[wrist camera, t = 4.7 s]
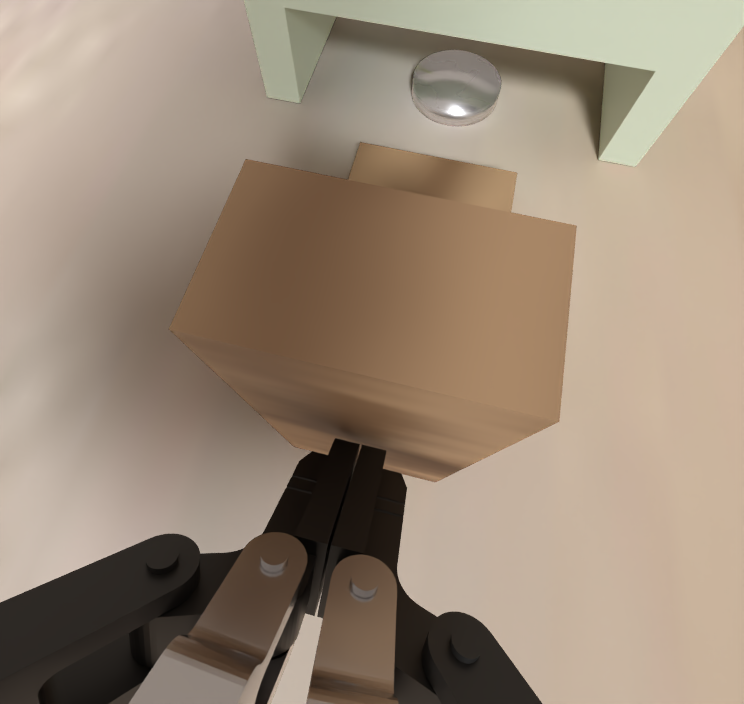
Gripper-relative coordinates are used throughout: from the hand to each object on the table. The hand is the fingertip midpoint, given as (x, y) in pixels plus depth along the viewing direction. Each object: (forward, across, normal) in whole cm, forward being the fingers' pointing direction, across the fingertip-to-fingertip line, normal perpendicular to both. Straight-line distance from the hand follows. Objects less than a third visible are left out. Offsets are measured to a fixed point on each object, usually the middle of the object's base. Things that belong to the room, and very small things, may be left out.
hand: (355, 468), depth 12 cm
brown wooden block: (+10, 0, -2) cm, 10 cm away
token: (+20, 0, -12) cm, 23 cm away
